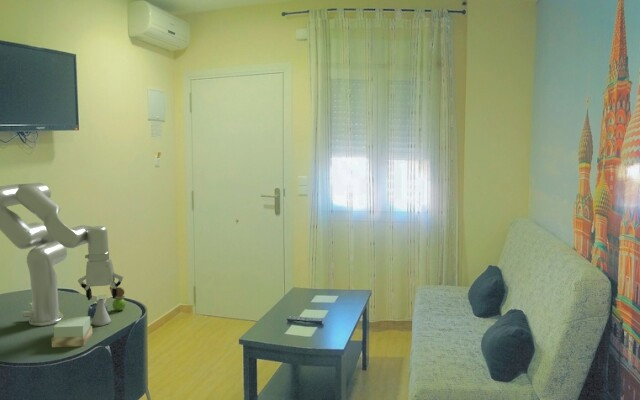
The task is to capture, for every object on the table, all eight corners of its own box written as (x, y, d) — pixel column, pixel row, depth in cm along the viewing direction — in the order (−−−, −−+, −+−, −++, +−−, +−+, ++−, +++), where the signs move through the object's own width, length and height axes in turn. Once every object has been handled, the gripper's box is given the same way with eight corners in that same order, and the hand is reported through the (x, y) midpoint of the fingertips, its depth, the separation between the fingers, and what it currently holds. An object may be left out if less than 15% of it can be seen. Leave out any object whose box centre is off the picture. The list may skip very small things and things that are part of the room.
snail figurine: (112, 308, 231) (111, 282, 230) (127, 308, 232) (126, 281, 230) (108, 312, 226) (107, 285, 224) (123, 312, 226) (122, 285, 225)
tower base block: (52, 348, 190) (51, 338, 189) (62, 336, 201) (61, 326, 200) (83, 347, 191) (83, 336, 191) (92, 335, 202) (92, 325, 202)
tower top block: (54, 337, 189) (53, 327, 189) (62, 327, 199) (62, 317, 199) (83, 336, 191) (82, 325, 191) (90, 326, 201) (90, 316, 200)
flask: (114, 321, 216) (113, 298, 214) (102, 327, 209) (101, 303, 208) (100, 319, 218) (99, 295, 217) (87, 325, 211) (86, 301, 210)
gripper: (73, 260, 205) (77, 302, 207) (119, 258, 207) (122, 299, 210) (79, 256, 212) (82, 296, 215) (123, 253, 215) (126, 294, 217)
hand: (102, 298), depth 212 cm, fingers open, 9 cm apart
